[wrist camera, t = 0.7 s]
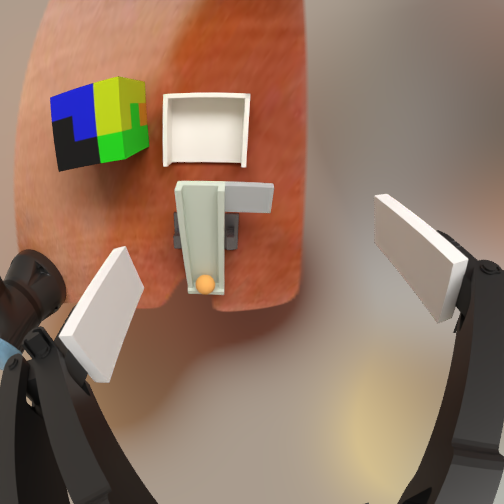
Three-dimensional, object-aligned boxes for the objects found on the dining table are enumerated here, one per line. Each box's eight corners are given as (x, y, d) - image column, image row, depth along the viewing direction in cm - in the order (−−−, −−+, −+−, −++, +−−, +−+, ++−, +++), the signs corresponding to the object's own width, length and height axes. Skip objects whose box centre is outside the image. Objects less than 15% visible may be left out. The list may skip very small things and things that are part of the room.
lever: (259, 282, 49) (259, 295, 47) (190, 280, 48) (188, 293, 46) (273, 183, 35) (275, 196, 33) (177, 180, 34) (173, 193, 32)
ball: (197, 279, 47) (195, 297, 45) (195, 270, 44) (193, 289, 43) (215, 280, 47) (215, 297, 46) (215, 271, 45) (214, 289, 43)
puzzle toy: (86, 95, 32) (50, 97, 24) (144, 81, 33) (118, 76, 24) (92, 155, 37) (58, 171, 28) (149, 146, 37) (125, 159, 29)
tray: (169, 161, 39) (163, 166, 36) (169, 95, 34) (163, 94, 31) (245, 162, 40) (245, 167, 37) (249, 95, 35) (250, 93, 32)
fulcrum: (237, 247, 46) (237, 261, 42) (176, 245, 46) (171, 259, 42) (238, 213, 43) (238, 224, 40) (174, 211, 43) (168, 223, 39)
